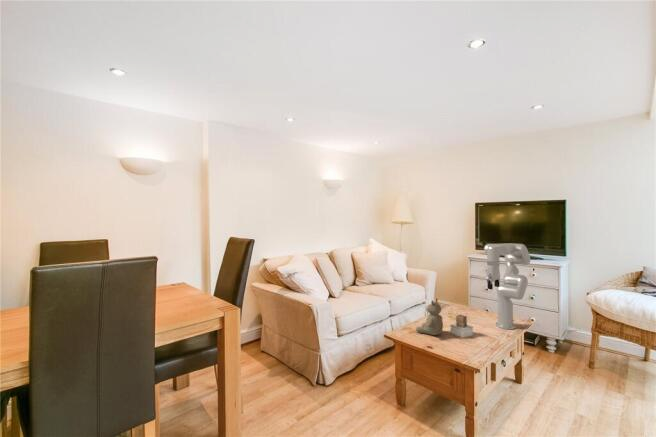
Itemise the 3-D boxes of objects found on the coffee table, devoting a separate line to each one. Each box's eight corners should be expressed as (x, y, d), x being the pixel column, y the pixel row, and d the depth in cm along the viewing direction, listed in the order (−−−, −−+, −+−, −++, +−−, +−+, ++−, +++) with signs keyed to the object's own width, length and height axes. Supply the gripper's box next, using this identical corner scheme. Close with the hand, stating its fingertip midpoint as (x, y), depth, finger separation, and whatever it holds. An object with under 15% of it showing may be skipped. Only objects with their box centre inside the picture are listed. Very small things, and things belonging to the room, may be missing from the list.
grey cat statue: (425, 325, 227) (425, 293, 226) (446, 331, 216) (446, 297, 215) (412, 334, 212) (411, 299, 211) (434, 340, 201) (434, 304, 200)
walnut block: (459, 323, 215) (459, 314, 214) (466, 325, 211) (466, 316, 211) (456, 325, 211) (456, 315, 211) (463, 327, 208) (463, 317, 207)
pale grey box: (460, 330, 218) (460, 322, 218) (473, 335, 208) (473, 327, 208) (450, 332, 214) (450, 324, 214) (462, 338, 204) (462, 329, 204)
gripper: (493, 261, 216) (494, 284, 216) (481, 264, 206) (481, 289, 206) (504, 262, 209) (505, 286, 210) (492, 266, 199) (493, 291, 200)
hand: (493, 287), depth 208 cm, fingers open, 9 cm apart
